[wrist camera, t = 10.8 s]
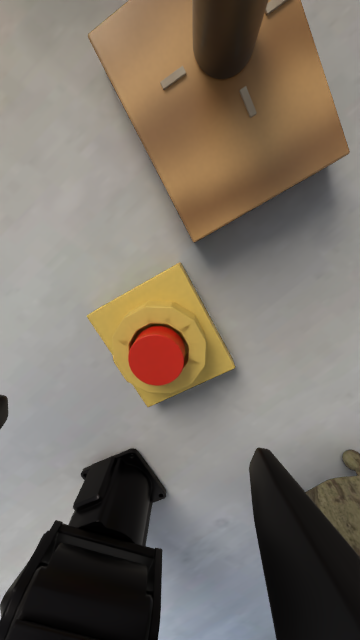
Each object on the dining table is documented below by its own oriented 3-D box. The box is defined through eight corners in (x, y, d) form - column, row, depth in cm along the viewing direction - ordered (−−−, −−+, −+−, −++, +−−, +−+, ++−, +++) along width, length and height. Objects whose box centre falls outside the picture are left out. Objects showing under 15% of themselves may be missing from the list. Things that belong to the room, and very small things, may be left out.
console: (327, 166, 16) (352, 151, 14) (193, 243, 18) (193, 242, 15) (251, -50, 13) (265, -119, 11) (103, 67, 15) (85, 31, 13)
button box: (232, 358, 20) (240, 380, 17) (151, 395, 22) (143, 422, 19) (180, 261, 18) (177, 265, 15) (94, 310, 20) (74, 323, 17)
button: (194, 359, 17) (194, 372, 16) (150, 380, 18) (146, 394, 16) (169, 316, 16) (166, 324, 15) (124, 340, 17) (117, 350, 15)
